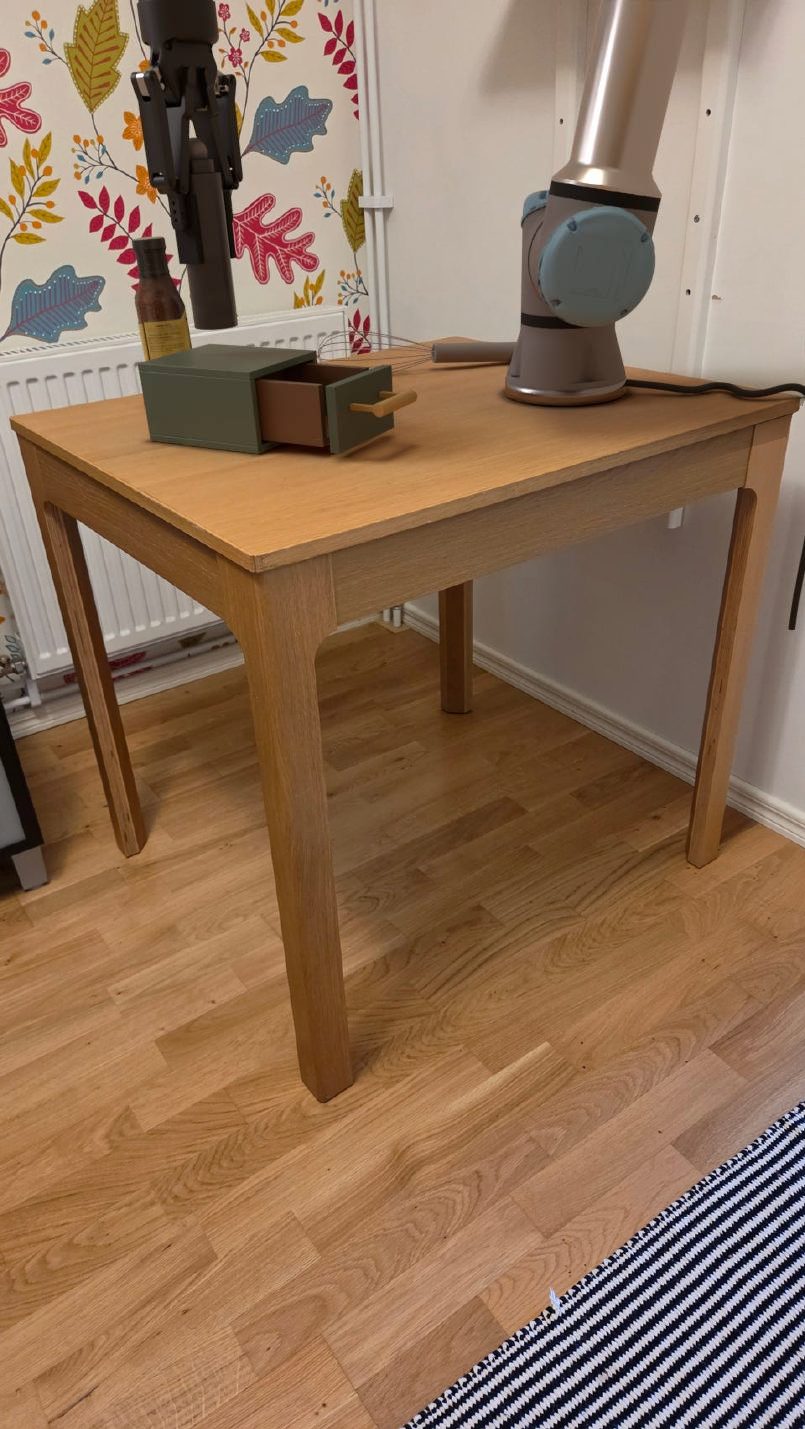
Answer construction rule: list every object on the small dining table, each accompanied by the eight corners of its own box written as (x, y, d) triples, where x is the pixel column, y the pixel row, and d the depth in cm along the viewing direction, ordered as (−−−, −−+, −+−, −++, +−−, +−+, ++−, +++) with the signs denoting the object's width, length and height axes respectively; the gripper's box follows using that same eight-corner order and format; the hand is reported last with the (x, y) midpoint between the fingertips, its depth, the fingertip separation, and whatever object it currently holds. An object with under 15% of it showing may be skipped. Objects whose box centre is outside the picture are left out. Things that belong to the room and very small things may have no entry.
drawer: (428, 431, 109) (426, 367, 106) (375, 458, 101) (371, 390, 98) (289, 417, 118) (283, 357, 114) (229, 441, 109) (221, 377, 106)
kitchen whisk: (551, 363, 144) (552, 316, 141) (323, 386, 137) (319, 338, 134) (535, 356, 149) (536, 311, 146) (315, 378, 142) (311, 331, 139)
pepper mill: (246, 324, 111) (226, 136, 102) (219, 331, 107) (195, 137, 98) (213, 322, 113) (190, 138, 104) (185, 329, 109) (159, 139, 100)
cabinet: (322, 426, 117) (316, 350, 112) (258, 454, 107) (249, 372, 103) (218, 416, 124) (209, 343, 119) (150, 441, 114) (137, 363, 110)
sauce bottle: (210, 401, 131) (187, 235, 121) (171, 411, 127) (145, 240, 117) (180, 395, 135) (155, 234, 125) (141, 404, 131) (113, 239, 121)
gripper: (204, 7, 103) (232, 252, 115) (78, -9, 90) (124, 270, 102) (262, 0, 100) (284, 252, 112) (140, -18, 87) (180, 271, 98)
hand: (208, 260), depth 107 cm, fingers closed on pepper mill, 5 cm apart
